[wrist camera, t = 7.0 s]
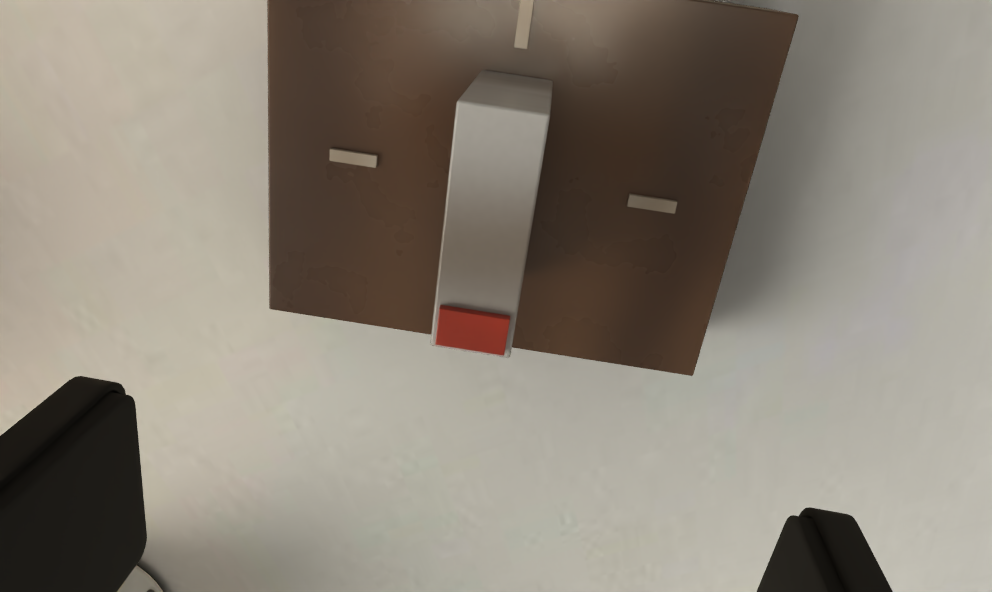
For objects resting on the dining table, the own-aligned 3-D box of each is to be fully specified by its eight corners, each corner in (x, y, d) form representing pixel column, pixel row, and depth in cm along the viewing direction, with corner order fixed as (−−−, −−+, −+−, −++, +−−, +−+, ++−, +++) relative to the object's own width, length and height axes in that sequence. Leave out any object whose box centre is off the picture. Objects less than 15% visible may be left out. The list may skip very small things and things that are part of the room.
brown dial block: (768, 8, 21) (802, 15, 18) (679, 333, 26) (694, 379, 23) (304, -60, 21) (264, -64, 18) (299, 273, 26) (267, 311, 23)
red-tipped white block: (481, 69, 19) (455, 102, 15) (553, 80, 19) (550, 116, 15) (457, 268, 22) (428, 351, 17) (520, 278, 22) (509, 364, 17)
